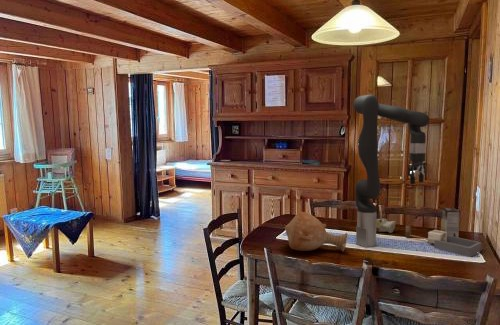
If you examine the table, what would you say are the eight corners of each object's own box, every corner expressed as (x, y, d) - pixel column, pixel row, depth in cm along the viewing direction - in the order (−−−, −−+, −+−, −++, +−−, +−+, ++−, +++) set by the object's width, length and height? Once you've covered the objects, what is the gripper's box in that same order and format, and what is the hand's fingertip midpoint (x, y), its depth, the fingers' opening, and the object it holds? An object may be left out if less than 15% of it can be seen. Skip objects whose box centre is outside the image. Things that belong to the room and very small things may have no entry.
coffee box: (440, 236, 198) (441, 207, 197) (453, 236, 197) (454, 207, 195) (445, 241, 189) (446, 210, 188) (459, 241, 188) (460, 211, 186)
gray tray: (469, 256, 166) (469, 248, 166) (434, 248, 179) (434, 240, 179) (481, 250, 174) (481, 242, 174) (446, 242, 187) (446, 235, 186)
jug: (286, 218, 194) (344, 226, 190) (282, 253, 185) (342, 262, 181) (287, 203, 177) (350, 211, 173) (282, 240, 168) (349, 250, 164)
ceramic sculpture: (393, 220, 199) (365, 218, 207) (394, 235, 200) (366, 233, 208) (397, 216, 208) (370, 214, 216) (397, 231, 209) (371, 229, 217)
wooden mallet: (440, 246, 180) (440, 234, 179) (402, 237, 195) (402, 226, 195) (446, 243, 184) (447, 232, 183) (409, 235, 200) (409, 224, 199)
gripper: (417, 151, 196) (417, 180, 198) (403, 152, 187) (402, 183, 189) (431, 151, 190) (430, 182, 192) (417, 153, 181) (416, 185, 183)
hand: (416, 183), depth 190 cm, fingers open, 8 cm apart
